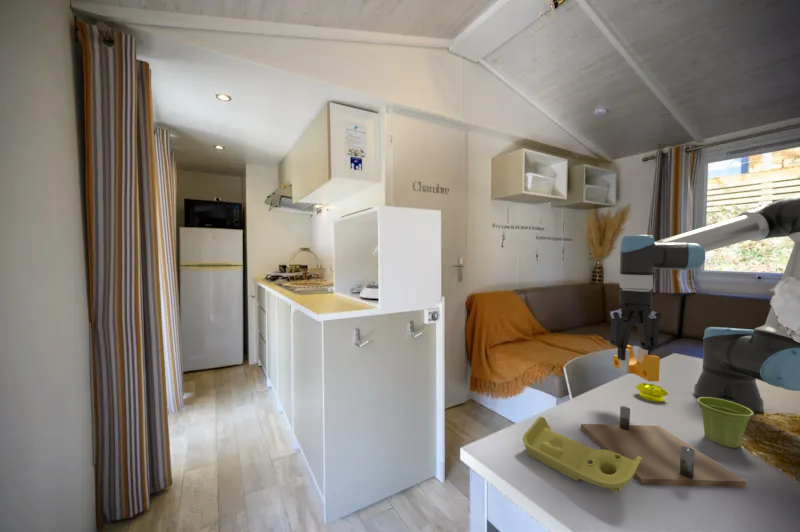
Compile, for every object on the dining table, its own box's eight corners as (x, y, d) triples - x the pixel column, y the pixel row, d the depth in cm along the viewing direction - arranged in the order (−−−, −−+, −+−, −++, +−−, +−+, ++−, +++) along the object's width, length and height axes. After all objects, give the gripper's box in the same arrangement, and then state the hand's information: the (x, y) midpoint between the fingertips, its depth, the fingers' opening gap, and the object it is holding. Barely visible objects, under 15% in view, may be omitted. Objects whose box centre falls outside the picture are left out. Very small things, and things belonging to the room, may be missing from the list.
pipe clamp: (612, 365, 95) (613, 344, 95) (627, 365, 95) (628, 344, 95) (642, 381, 83) (642, 356, 83) (658, 381, 83) (659, 357, 83)
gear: (631, 396, 101) (663, 405, 94) (632, 384, 101) (663, 393, 94) (640, 390, 105) (671, 399, 99) (641, 379, 105) (671, 387, 99)
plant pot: (762, 457, 70) (764, 418, 70) (708, 447, 73) (710, 410, 73) (735, 435, 79) (736, 400, 78) (688, 427, 82) (689, 394, 82)
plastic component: (518, 441, 69) (543, 411, 74) (528, 468, 71) (553, 437, 76) (621, 495, 52) (646, 451, 57) (633, 529, 53) (655, 483, 58)
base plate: (659, 430, 80) (659, 425, 80) (745, 487, 60) (746, 481, 60) (580, 428, 80) (580, 423, 80) (641, 484, 60) (641, 478, 60)
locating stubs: (625, 425, 79) (626, 406, 79) (696, 478, 60) (697, 452, 60) (617, 425, 79) (618, 406, 79) (686, 478, 60) (687, 452, 60)
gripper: (655, 289, 93) (653, 367, 93) (596, 288, 93) (594, 366, 93) (678, 291, 85) (675, 376, 86) (613, 290, 85) (611, 375, 86)
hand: (633, 371), depth 90 cm, fingers closed on pipe clamp, 4 cm apart
